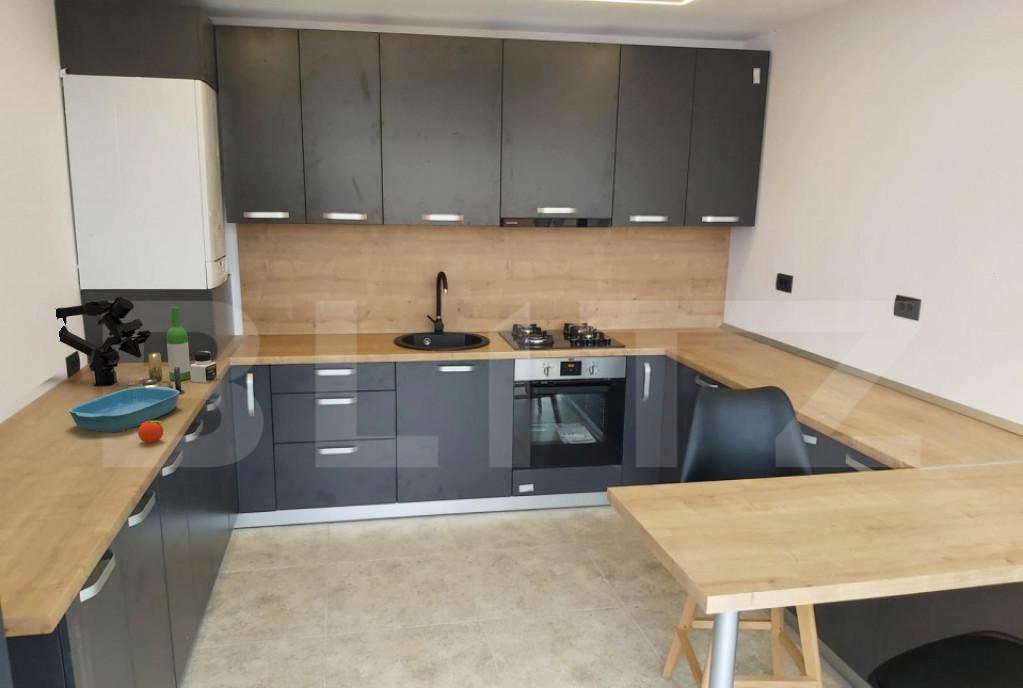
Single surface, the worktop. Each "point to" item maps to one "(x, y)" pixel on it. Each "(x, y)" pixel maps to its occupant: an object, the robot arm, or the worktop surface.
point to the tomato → (150, 431)
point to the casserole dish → (124, 408)
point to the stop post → (178, 380)
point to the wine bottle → (178, 347)
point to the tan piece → (152, 374)
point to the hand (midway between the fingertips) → (140, 357)
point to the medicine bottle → (203, 368)
